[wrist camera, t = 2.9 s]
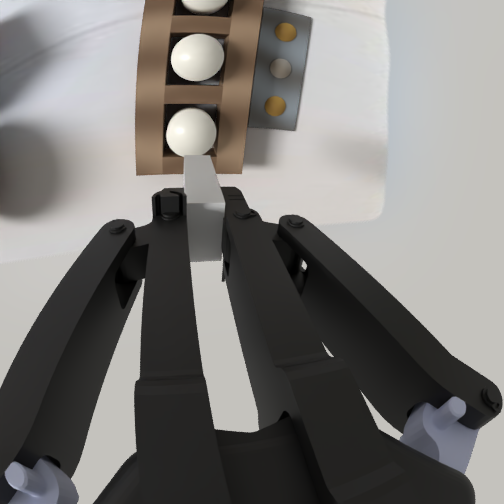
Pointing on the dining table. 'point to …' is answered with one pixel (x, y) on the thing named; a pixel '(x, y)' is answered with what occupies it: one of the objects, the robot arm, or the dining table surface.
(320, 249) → the robot arm
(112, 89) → the dining table surface
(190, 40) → the middle button
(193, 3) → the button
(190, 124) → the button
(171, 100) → the button board
